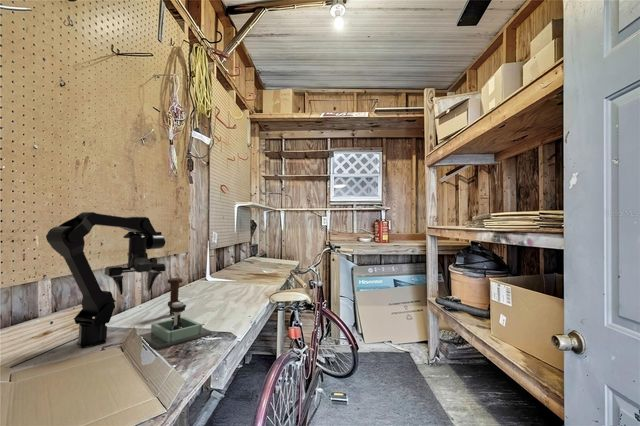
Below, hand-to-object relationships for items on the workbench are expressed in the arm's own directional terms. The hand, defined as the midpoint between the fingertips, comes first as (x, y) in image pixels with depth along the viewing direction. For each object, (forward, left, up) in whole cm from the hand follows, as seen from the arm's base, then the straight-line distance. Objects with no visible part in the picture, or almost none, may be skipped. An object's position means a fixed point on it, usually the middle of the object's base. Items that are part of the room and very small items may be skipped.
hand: (135, 292), depth 111 cm
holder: (+7, -19, -13) cm, 24 cm away
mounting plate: (+7, -19, -13) cm, 24 cm away
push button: (+7, -19, -12) cm, 23 cm away
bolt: (+18, +8, -13) cm, 24 cm away
